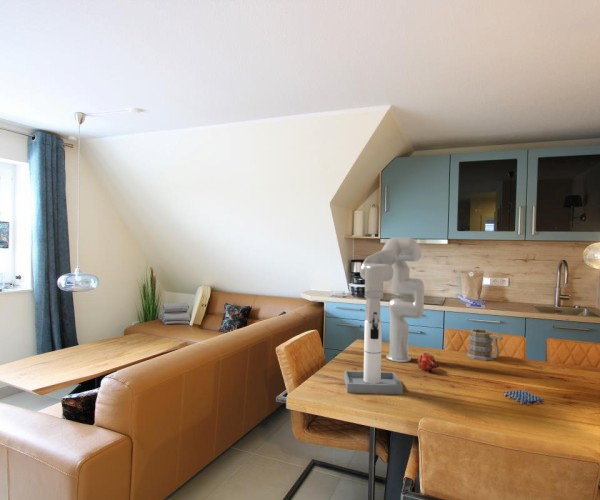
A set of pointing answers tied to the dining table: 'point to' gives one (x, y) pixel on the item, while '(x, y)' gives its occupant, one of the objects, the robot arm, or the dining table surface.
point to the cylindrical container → (372, 355)
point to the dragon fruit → (427, 362)
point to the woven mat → (523, 397)
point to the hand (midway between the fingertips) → (372, 336)
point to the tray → (358, 385)
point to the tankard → (483, 344)
